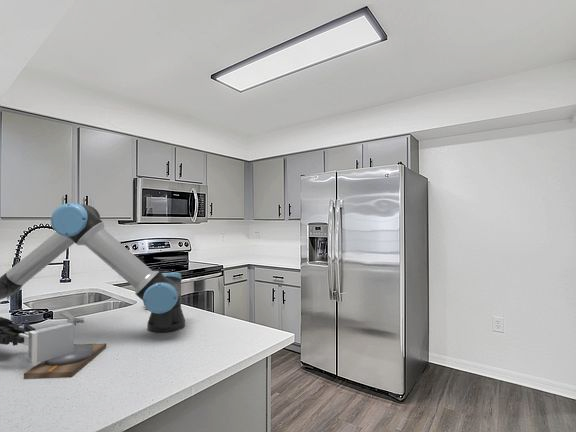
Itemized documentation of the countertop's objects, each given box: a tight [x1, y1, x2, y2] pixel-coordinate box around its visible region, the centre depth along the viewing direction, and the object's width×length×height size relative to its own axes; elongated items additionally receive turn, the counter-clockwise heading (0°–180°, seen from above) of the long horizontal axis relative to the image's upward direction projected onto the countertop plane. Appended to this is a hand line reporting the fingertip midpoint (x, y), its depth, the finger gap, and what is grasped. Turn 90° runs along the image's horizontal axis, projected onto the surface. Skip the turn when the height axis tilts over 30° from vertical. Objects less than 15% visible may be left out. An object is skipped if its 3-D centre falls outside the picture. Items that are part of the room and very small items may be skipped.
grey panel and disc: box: [27, 322, 93, 366], centre depth 104 cm, size 17×13×11 cm
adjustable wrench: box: [59, 310, 85, 326], centre depth 151 cm, size 25×6×2 cm, turn 43°
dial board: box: [23, 343, 107, 380], centre depth 105 cm, size 13×22×2 cm, turn 5°
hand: (34, 340), depth 99 cm, fingers closed
